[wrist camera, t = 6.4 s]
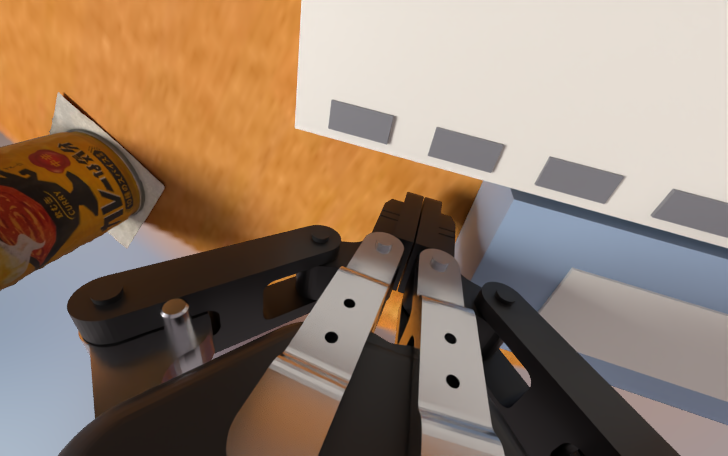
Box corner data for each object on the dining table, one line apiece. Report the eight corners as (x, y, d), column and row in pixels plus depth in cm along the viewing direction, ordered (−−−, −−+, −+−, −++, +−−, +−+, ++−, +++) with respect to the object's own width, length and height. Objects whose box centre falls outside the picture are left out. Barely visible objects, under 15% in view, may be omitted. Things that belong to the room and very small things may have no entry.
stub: (497, 148, 13) (514, 201, 9) (949, 267, 11) (1238, 405, 7) (448, 257, 16) (444, 331, 12) (786, 362, 14) (915, 491, 10)
